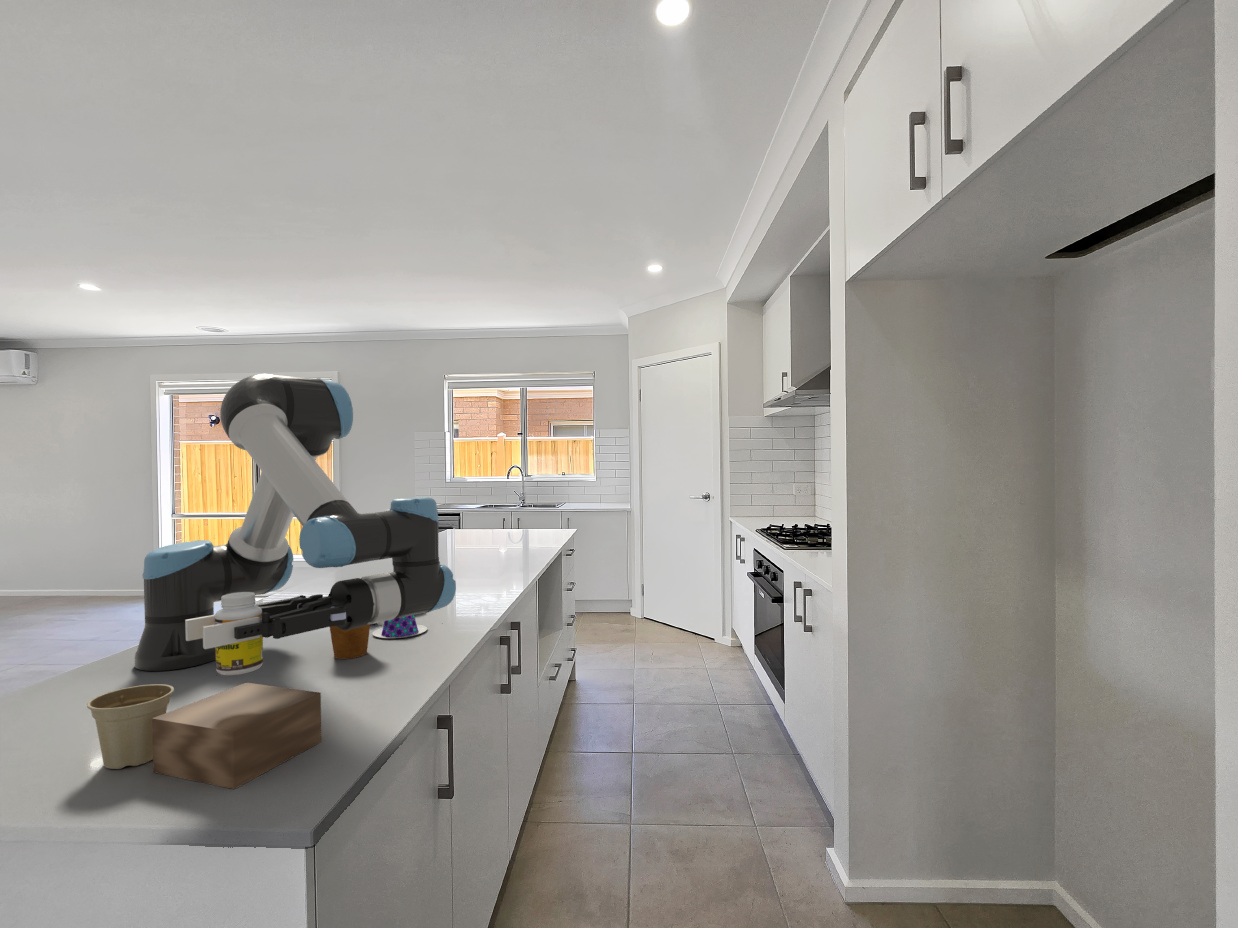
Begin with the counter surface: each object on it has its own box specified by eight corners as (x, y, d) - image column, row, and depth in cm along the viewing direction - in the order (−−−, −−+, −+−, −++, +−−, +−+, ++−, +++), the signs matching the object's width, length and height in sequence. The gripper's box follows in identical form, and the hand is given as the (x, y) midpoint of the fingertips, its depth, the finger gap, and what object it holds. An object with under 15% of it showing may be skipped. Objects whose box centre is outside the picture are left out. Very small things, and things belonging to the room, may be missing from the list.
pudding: (422, 639, 146) (422, 616, 146) (366, 642, 145) (366, 618, 145) (430, 625, 158) (430, 604, 158) (379, 628, 157) (378, 606, 157)
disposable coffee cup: (383, 647, 139) (382, 591, 139) (361, 661, 130) (360, 601, 130) (340, 647, 140) (339, 591, 140) (315, 661, 131) (314, 601, 131)
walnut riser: (153, 772, 85) (152, 718, 85) (247, 729, 98) (246, 682, 98) (234, 788, 80) (233, 731, 80) (321, 741, 93) (320, 692, 93)
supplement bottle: (205, 674, 87) (203, 597, 87) (241, 662, 92) (239, 589, 92) (238, 678, 85) (236, 599, 85) (273, 665, 91) (271, 591, 91)
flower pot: (119, 745, 93) (118, 684, 93) (189, 742, 94) (188, 681, 94) (69, 777, 84) (68, 710, 84) (148, 773, 84) (146, 707, 84)
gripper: (396, 634, 97) (223, 677, 79) (334, 617, 109) (171, 650, 91) (395, 583, 97) (222, 614, 79) (333, 571, 109) (170, 596, 91)
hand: (195, 633), depth 85 cm, fingers closed on supplement bottle, 5 cm apart
